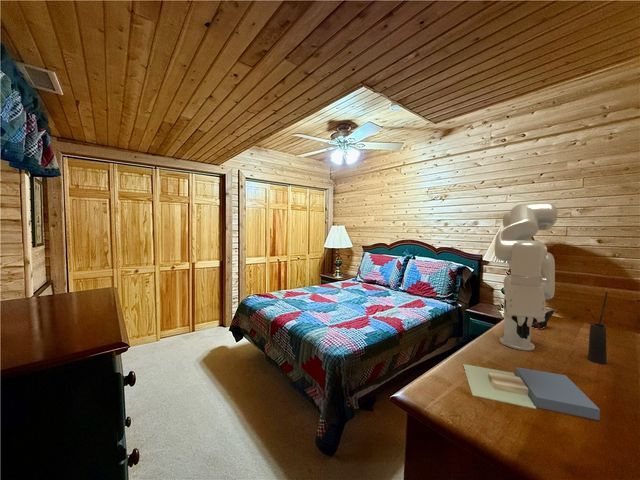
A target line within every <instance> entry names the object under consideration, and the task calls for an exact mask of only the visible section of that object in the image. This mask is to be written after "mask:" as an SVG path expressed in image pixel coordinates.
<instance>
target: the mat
mask: <svg viewBox="0 0 640 480" xmlns="http://www.w3.org/2000/svg"><path fill="white" fill-rule="evenodd" d="M462 366H464V367H463V370H464V369H465V370H464V372H465V373H464V374H465V376H466V379H467V382H468V383H467V384H468V386H469V390H470V392H471V396H472V397H477V398H481V399H485V400H486V399H487V400H490V401H495V402H500V403H506V404H510V405H515V406H520V407H524V408H528V409H534V410H537V407H535V405H534V404H533V402H532V401H531V399H530V398H529V396H528V395H523V394H518V393H512V392H507V391H501V390H495V389H494V388H493V386H492V384H491V382H490V380H489V378H488V372H491V373H498V374H504V375H510V376H515V372H510V371H505V370H500V369H495V368H494V369H493V368H488V367H482V366H476V365H470V364H465V363H463V364H462Z"/></svg>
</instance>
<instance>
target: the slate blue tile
mask: <svg viewBox="0 0 640 480" xmlns="http://www.w3.org/2000/svg"><path fill="white" fill-rule="evenodd" d="M514 368H515V371H514V374H515V376H516V377H520V378H521V380H522V381H523V382H524V384H525V385H526V386H527V388H528V389H529V391H528V396H529V398H530V399H531V401H532V402H533V404H534V405H535V407H536V409H543V410H547V411H552V412H558V413H561V414H567V415H571V416H576V417H581V418H586V419H590V420H591V419H592V420H595V421H600V419H601V409H600V408H599V407H598V406H597V405H596V404H595V403H594V402H593V401H592V400H591V399H590V398H589V397H588V396H587V395H586V394H585V393H584V392H583V391H582V390H581V389H580V388H579V387H578V386H577V385H576V384H575V383H574V382H573V381H572V380H571V379H570V378H569V377H568V376H567V375H566V374H562V373H561V374H559V373H555V372H554V373H553V372H549V371H542V370H536V369H531V368H530V369H528V368H524V367H520V366H518V367H517V366H515V367H514Z"/></svg>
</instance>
